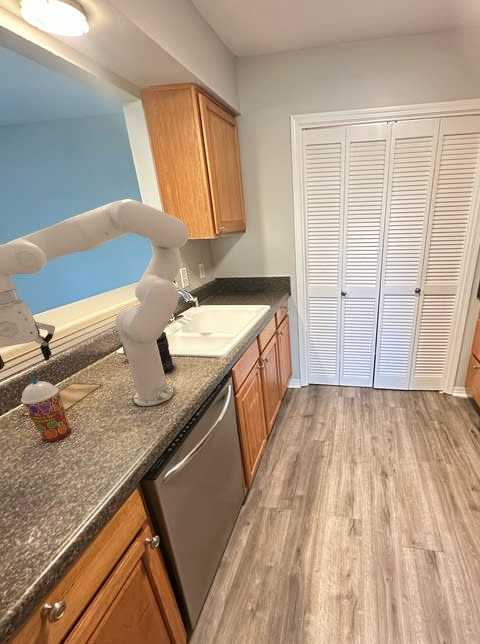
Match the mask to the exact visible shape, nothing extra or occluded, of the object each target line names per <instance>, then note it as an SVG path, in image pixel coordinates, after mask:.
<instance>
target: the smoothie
mask: <svg viewBox="0 0 480 644" xmlns="http://www.w3.org/2000/svg"><path fill="white" fill-rule="evenodd" d="M29 376H30V379H31V380H32V382H31V383H30V384H28V385H27V386H26V387H25V388H24V389H23V391H22V394H21V399H20V402H21V403H22V404H23V407H24V408H25V409H26V413H27V412H28V414H29V415H28V416H29V417H30V419H31V421H32V422H33V423H34V426H35V428H36V429H37V432H39V435H40V436H41V438H42V439H44V440H45V441H47V442H55V441H58V440H60V439H63V438H64V437H66V436H67V435H69V432H70V428H71V425H70V422H69V419H68V415H67V413H66V410H65V409H64V406H63V403H62V400H61V396H60V393H59V392H60V390H59V388H58V387H57V386H55V385H54V384H52V383H51V382H48V381H43V380H42V381H41V380H40V381H37V379H36V378H35V376H34V373H30V374H29Z"/></svg>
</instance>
